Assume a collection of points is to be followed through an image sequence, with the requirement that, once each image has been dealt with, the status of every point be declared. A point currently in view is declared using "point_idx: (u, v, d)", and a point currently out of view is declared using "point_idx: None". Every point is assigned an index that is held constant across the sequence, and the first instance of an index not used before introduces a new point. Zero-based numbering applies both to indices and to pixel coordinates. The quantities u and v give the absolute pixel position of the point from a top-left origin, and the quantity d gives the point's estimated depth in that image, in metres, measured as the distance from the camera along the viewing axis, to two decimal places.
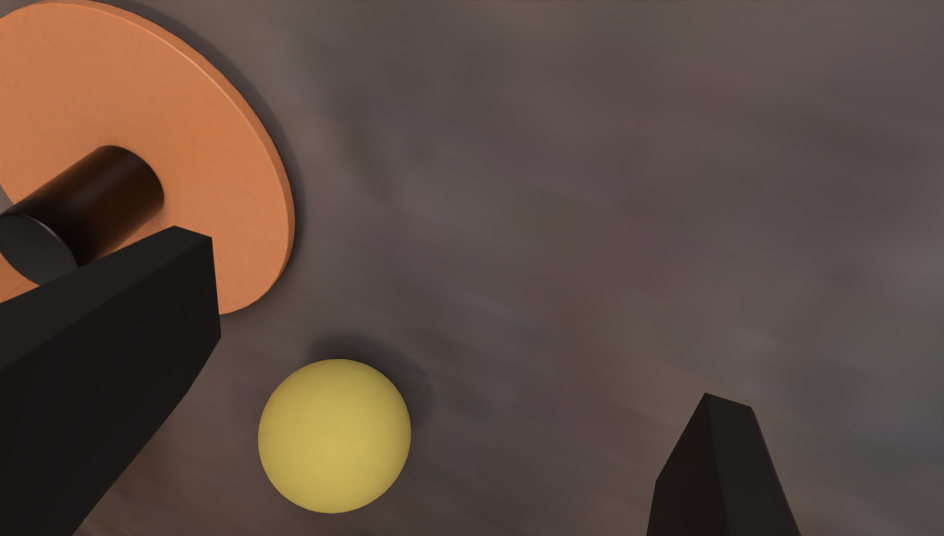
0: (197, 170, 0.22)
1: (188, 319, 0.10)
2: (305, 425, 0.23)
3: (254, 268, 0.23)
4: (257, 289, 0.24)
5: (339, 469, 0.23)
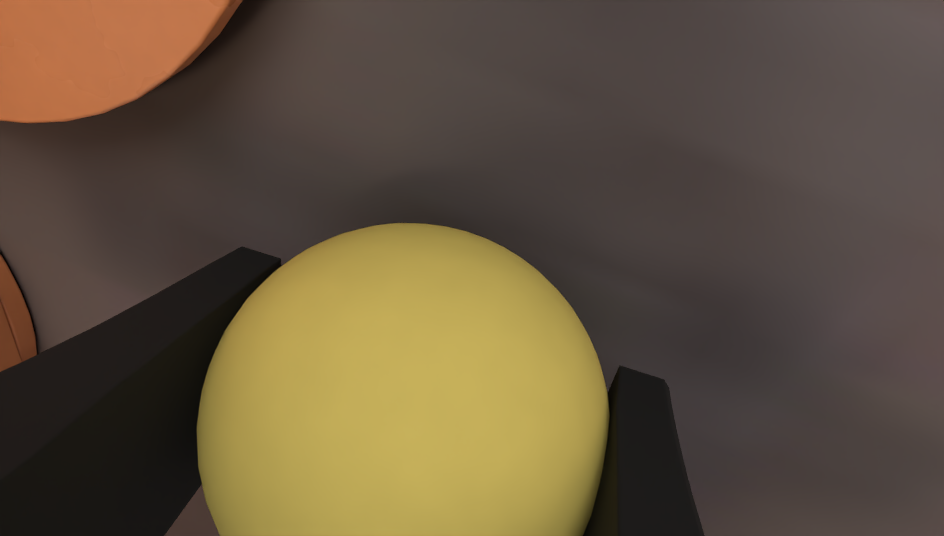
0: None
1: None
2: (337, 391, 0.07)
3: None
4: (196, 6, 0.08)
5: (444, 530, 0.07)
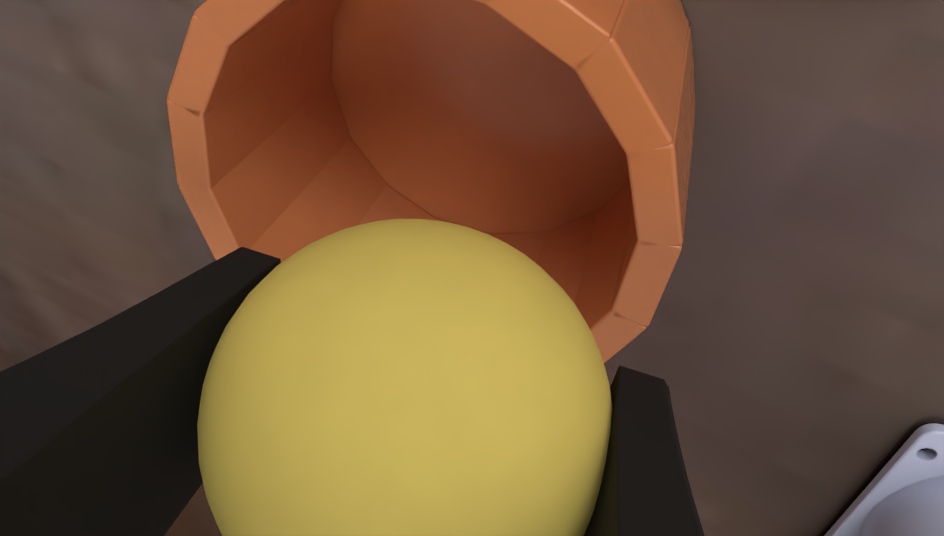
0: None
1: None
2: (340, 385, 0.07)
3: None
4: None
5: (447, 527, 0.07)
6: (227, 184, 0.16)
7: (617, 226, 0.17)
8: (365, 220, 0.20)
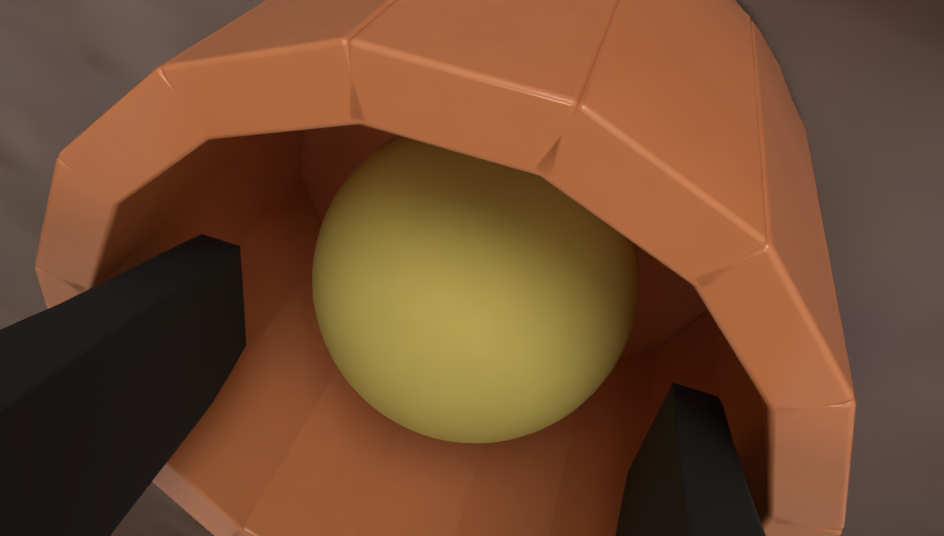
0: None
1: (216, 328, 0.10)
2: (438, 219, 0.09)
3: None
4: None
5: (521, 323, 0.09)
6: None
7: None
8: None
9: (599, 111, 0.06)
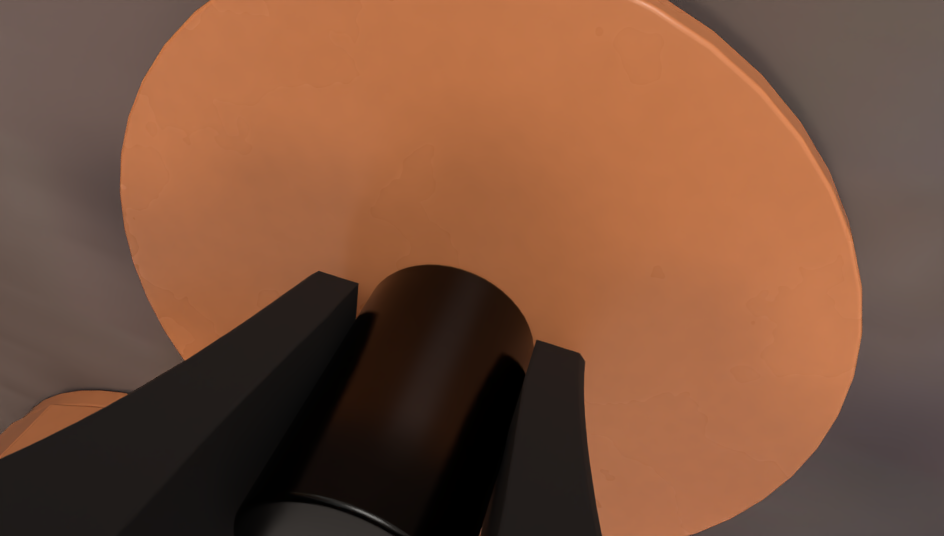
0: (640, 324, 0.10)
1: None
2: None
3: (686, 499, 0.12)
4: (672, 530, 0.12)
5: None
6: None
7: None
8: None
9: None
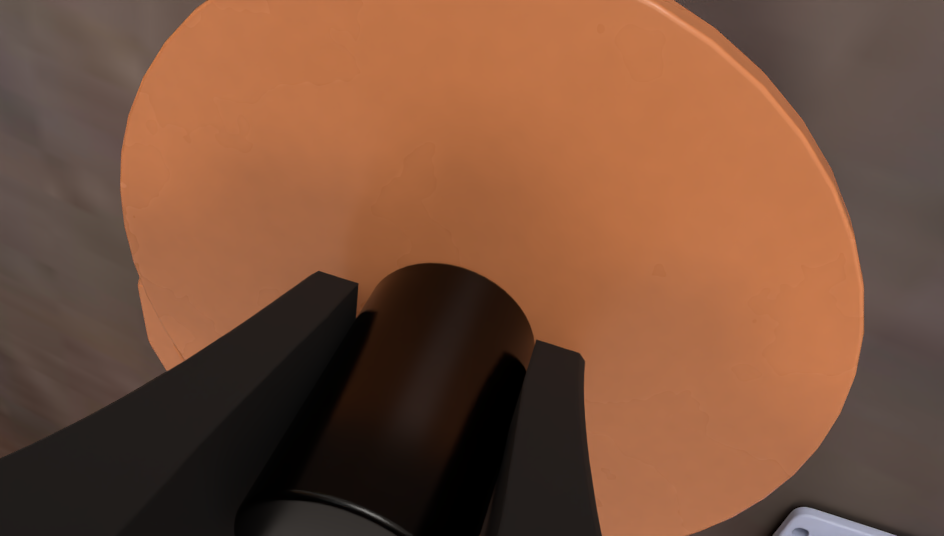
0: (641, 322, 0.10)
1: None
2: None
3: (687, 498, 0.12)
4: (673, 529, 0.12)
5: None
6: None
7: None
8: None
9: None
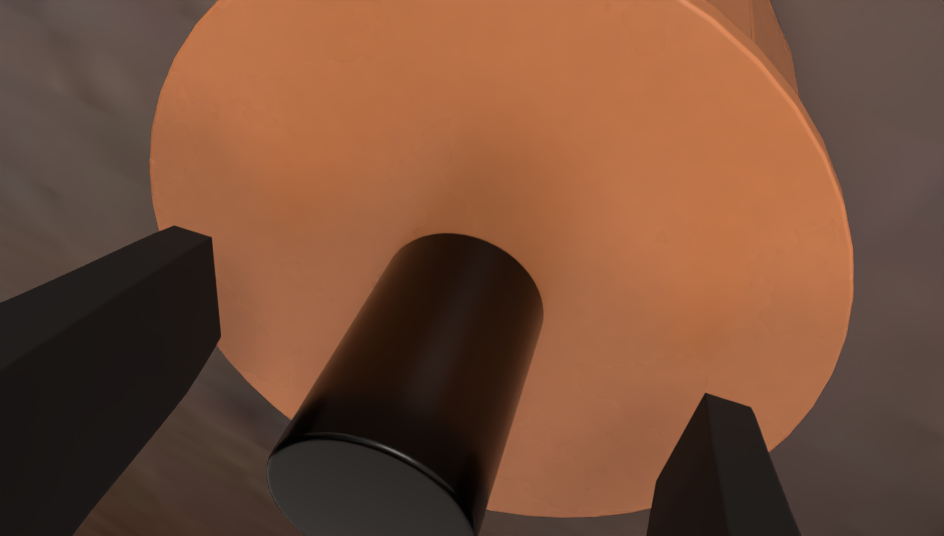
0: (644, 288, 0.10)
1: (188, 319, 0.10)
2: None
3: None
4: None
5: None
6: None
7: None
8: None
9: None
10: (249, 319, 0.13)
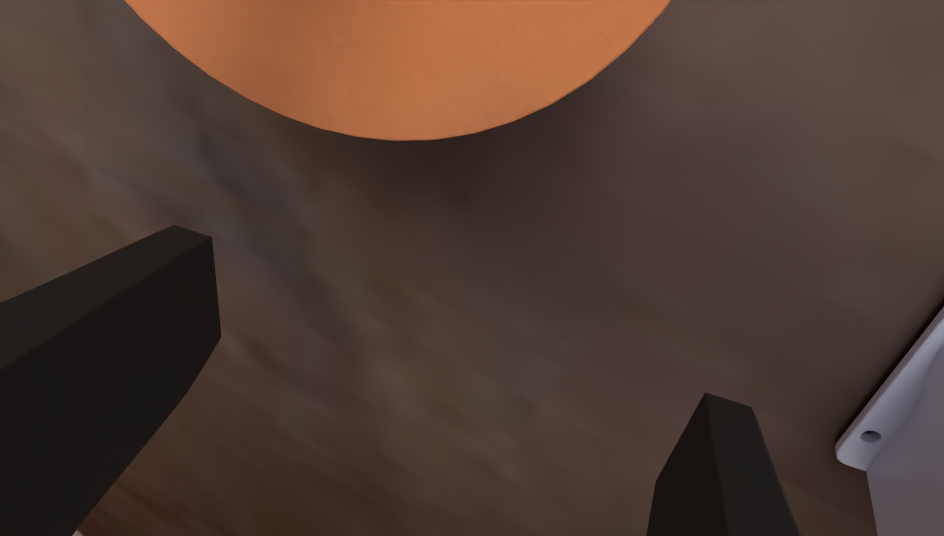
0: None
1: (188, 319, 0.10)
2: None
3: None
4: (597, 51, 0.11)
5: None
6: None
7: None
8: None
9: None
10: None
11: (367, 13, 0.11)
